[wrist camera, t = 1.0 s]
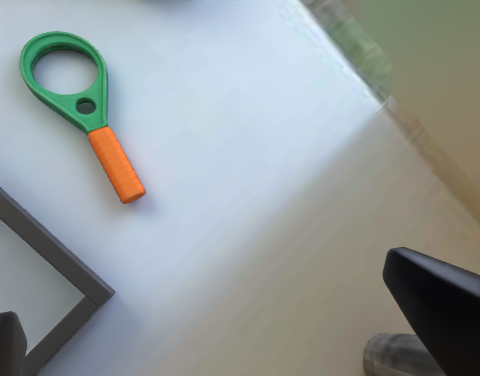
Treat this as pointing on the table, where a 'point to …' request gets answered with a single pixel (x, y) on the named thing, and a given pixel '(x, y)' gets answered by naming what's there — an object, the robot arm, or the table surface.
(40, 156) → the table surface
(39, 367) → the dark grey square tray
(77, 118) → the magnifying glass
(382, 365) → the beverage cup
